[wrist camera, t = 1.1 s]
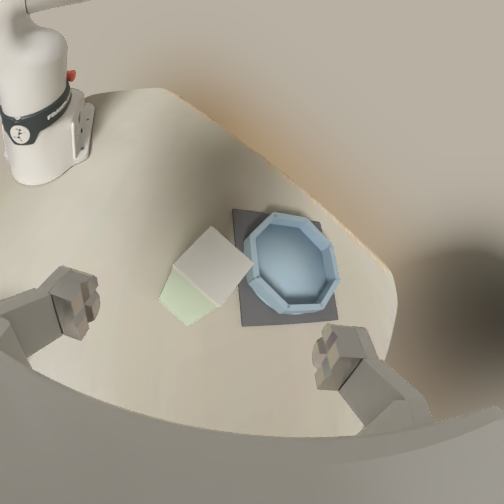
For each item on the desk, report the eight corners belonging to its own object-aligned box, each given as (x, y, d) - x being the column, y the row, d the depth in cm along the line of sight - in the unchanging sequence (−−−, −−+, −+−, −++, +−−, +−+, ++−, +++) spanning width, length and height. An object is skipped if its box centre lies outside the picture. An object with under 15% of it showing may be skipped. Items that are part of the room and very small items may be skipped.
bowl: (238, 216, 47) (246, 207, 44) (318, 228, 54) (327, 220, 52) (247, 316, 41) (256, 312, 38) (333, 312, 48) (345, 308, 45)
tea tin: (157, 300, 36) (173, 263, 24) (182, 272, 40) (211, 225, 27) (187, 327, 37) (221, 305, 24) (211, 298, 40) (254, 263, 27)
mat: (232, 210, 48) (233, 208, 47) (318, 223, 56) (320, 222, 55) (241, 326, 40) (243, 326, 40) (337, 319, 48) (338, 319, 48)
